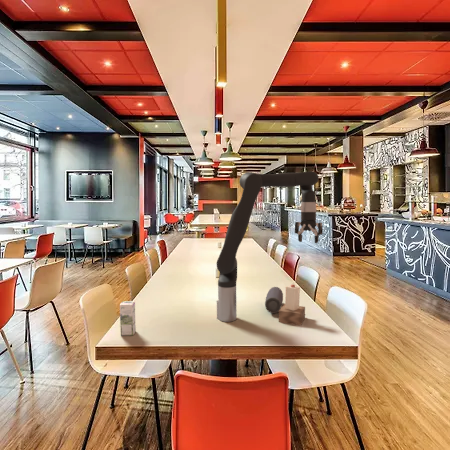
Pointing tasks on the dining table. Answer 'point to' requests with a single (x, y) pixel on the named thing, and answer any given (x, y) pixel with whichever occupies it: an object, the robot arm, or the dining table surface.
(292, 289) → the cream carton
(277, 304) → the bluetooth speaker
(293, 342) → the dining table surface
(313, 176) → the robot arm
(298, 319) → the walnut block
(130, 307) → the syrup box
